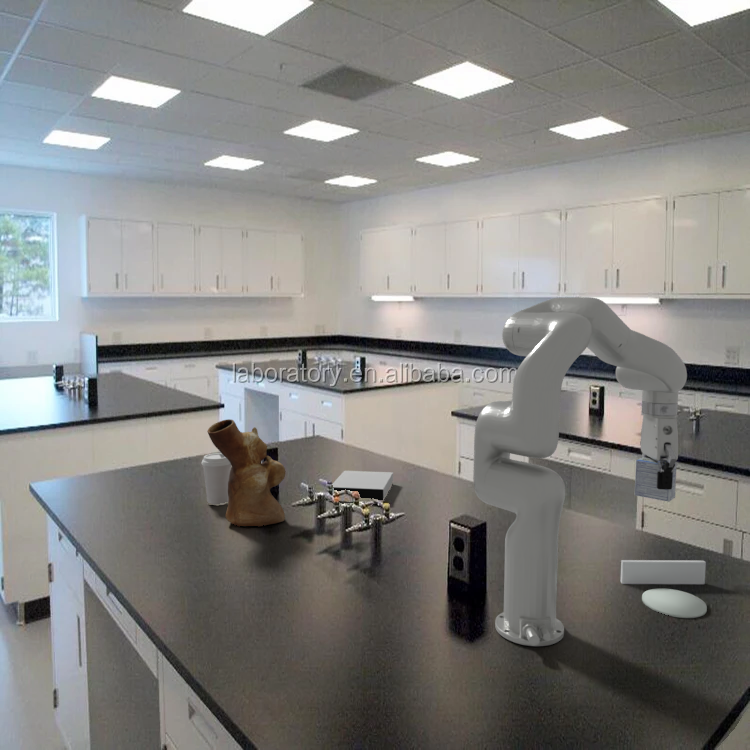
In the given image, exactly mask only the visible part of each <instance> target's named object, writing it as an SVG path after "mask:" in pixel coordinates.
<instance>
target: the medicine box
mask: <svg viewBox="0 0 750 750" xmlns="http://www.w3.org/2000/svg"><path fill="white" fill-rule="evenodd" d="M662 463H663V466H664V464H665V463H666V462H662ZM658 471H659V466H658V462H657V461H656V460H654V459H652V458H646V457H642V458H641V457H640V458H638V459H636V460H635V475H634V480H635V482H634V496H636V497H641V498H646V499H652V500H657V501H664V502H667V503H668V502H671V501H673V500H674V499H676V489H677V487H676V486H677V485H676V481H677V461H676V462H675V467H674V472H673V479H672V489H658V488H657V473H658Z"/></svg>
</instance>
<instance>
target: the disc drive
mask: <svg viewBox="0 0 750 750" xmlns="http://www.w3.org/2000/svg"><path fill="white" fill-rule="evenodd" d="M392 481H393V482H394V472H393V471H392V472H390V471H387V472H386V471H370V470H369V471H365V470H363V471H362V470H343V471H342V472H341V474H340V475H339V476H338V477H337V478H336V479H335V480H334V482H333V483H332V484H331V485H333V488H334V490H337V491H341V490H345V489H346V490H350V491H358V492H359V494H360V497H361V498H371V499H372V498H374V499H378V500H383V498H384V496H385V495H386V493H387V491H388V489H389V487H390V485H391V483H392Z"/></svg>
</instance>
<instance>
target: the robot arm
mask: <svg viewBox="0 0 750 750" xmlns="http://www.w3.org/2000/svg"><path fill="white" fill-rule="evenodd" d="M501 337H502V342H503V345H504V346H505V348H506V349H507V351H509V353H511V354H513V355H516V356H519V357H525V358H524V359H523V360H522V362H521V363H520V365H519V366H518V368H517V369H516V371H515V374H514V378H513V383H512V384H513V385H512V386H513V387H512V397H511V402H510V401H493V402H489V403H488V404H486V405H485V406H484V407H483V408H482V410H481V411H480V412H479V414H478V417H477V418H476V423H475V426H474V427H475V428H474V437H473V439H474V440H473V470H472V471H473V477H472V478H473V487H474V492H475V495H476V496H477V498H478V499H479V500H480V501H481V502H483V503H485V504H487V505H489V506H492V507H495V508H499V509H502V510H505V511H509V512H511V513H513V514H516V515H515V519H514V521H513V522H512V523H511V525H510V526H509V528H508V529H507V531H506V534H505V540H504V580H503V583H504V584H503V585H504V586H503V587H504V588H503V611H502V612H501V613H499V614H498V615H497V616H496V617H495V622H494V623H495V624H494V626H495V629H496V632H497V633H498V634H499V635H500V636H501V637H503V638H504V639H506V640H508V641H509V642H513V643H515V644H518V645H522V646H528V647H547V646H551V645H553V644H557V643H559V641H561V640H562V639H563V638H564V635H565V627H564V624H563V623H562V621H561V620H559V619H558V618H557V587H558V586H557V585H558V582H557V581H558V559H559V558H558V555H559V553H558V551H559V550H558V548H559V533H560V531H559V530H560V521H561V515H562V512H563V507H564V504H565V499H566V485H565V482H564V479H563V478H562V477H561V476H560V474H559V473H557V472H556V471H555V470H553V469H551V468H549V467H547V466H543V465H540V464H536V463H531V462H527V461H521V460H520V461H519V460H516V459H512V458H511V454H512V455H516V456H521V457H526V458H532V459H547V458H549V457H552V455H554V454H555V452H556V450H557V447H558V443H559V436H560V422H561V421H560V420H561V394H562V386H563V381H564V378H565V376H566V374H567V372H568V371H569V369H570V368H571V366H572V365H573V363H574V362H576V360H577V358H579V356H581V355H582V354H583V353H584V351H585V350H586V349H589V350H590V351H591V352H592V353H593V354H594V355H595V356H596V358H598V359H599V360H600V361H602V362H604V363H606V364H609V365H612V366H615V367H616V368H615V378H616V380H617V382H618V383H619V385H620V386H622V387H624V388H626V389H629V390H634V391H635V390H638V391H642V396H641V416H643V418H642V421H641V422H642V424H641V432H640V441H639V443H640V444H639V445H640V454H641V456H640V458H642V457H646V458H652V459H654V460H656V461H657V462H658V466H659V471H658V473H657V488H658V489H672V479H673V472H674V467H675V462H676V463H677V460H678V458H679V432H678V431H679V430H678V422H677V421H678V419H677V418H678V409H679V407H678V403H679V391H681V390H682V389H683V388H684V386H685V385H686V382H687V379H688V373H687V367H686V365H685V363H684V361H683V360H682V358H681V357H680V355H678V353H677V352H676V351H675V350H674V349H673V348H672V347H671V346H669V345H668V344H665V343H664V342H662V341H659V340H657V339H654V338H652V337H650V336H648V335H645V334H643V333H640V332H638V331H635V330H633V329H631V328H630V327H629V326H628V325H627V324H626V323H625V322H624V321H623V320H622V319H621V318H620V316H619V315H617V313H616V312H615V311H614V310H613V309H612V308H611V307H610V306H609V305H608V303H606V302H604V301H603V300H601V299H599V298H597V297H589V296H583V297H581V296H580V297H555V298H550V299H546V300H545V301H542V302H539V303H537V304H534V305H532V306H529V307H527V308H525V309H524V308H523V309H521V310H519V311H517V312H514V313H512V315H510V316H509V317H508V318H507V319H506V321H505V323H504V326H503V328H502V333H501ZM662 462H666V463H665V464H664V466H663V463H662Z"/></svg>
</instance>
